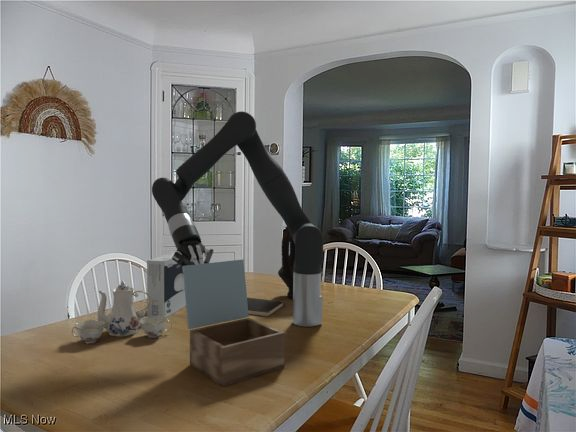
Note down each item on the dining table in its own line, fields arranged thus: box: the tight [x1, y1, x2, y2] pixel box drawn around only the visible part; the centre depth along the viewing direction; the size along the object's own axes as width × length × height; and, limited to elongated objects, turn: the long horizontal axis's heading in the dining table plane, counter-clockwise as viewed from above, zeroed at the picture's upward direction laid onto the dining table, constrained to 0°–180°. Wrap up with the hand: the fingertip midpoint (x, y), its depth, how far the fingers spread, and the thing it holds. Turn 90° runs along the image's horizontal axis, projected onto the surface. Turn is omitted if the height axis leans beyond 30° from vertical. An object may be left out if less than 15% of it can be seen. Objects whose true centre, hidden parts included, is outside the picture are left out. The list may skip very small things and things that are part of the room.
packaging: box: [146, 250, 186, 318], centre depth 169 cm, size 30×6×20 cm, turn 168°
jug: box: [277, 226, 323, 299], centre depth 188 cm, size 21×18×30 cm
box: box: [189, 317, 286, 387], centre depth 115 cm, size 16×18×9 cm
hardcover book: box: [247, 297, 285, 317], centre depth 171 cm, size 16×23×2 cm
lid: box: [183, 259, 250, 330], centre depth 122 cm, size 16×18×1 cm
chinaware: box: [71, 280, 173, 345], centre depth 137 cm, size 28×17×17 cm, turn 114°
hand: (203, 279), depth 127 cm, fingers closed
